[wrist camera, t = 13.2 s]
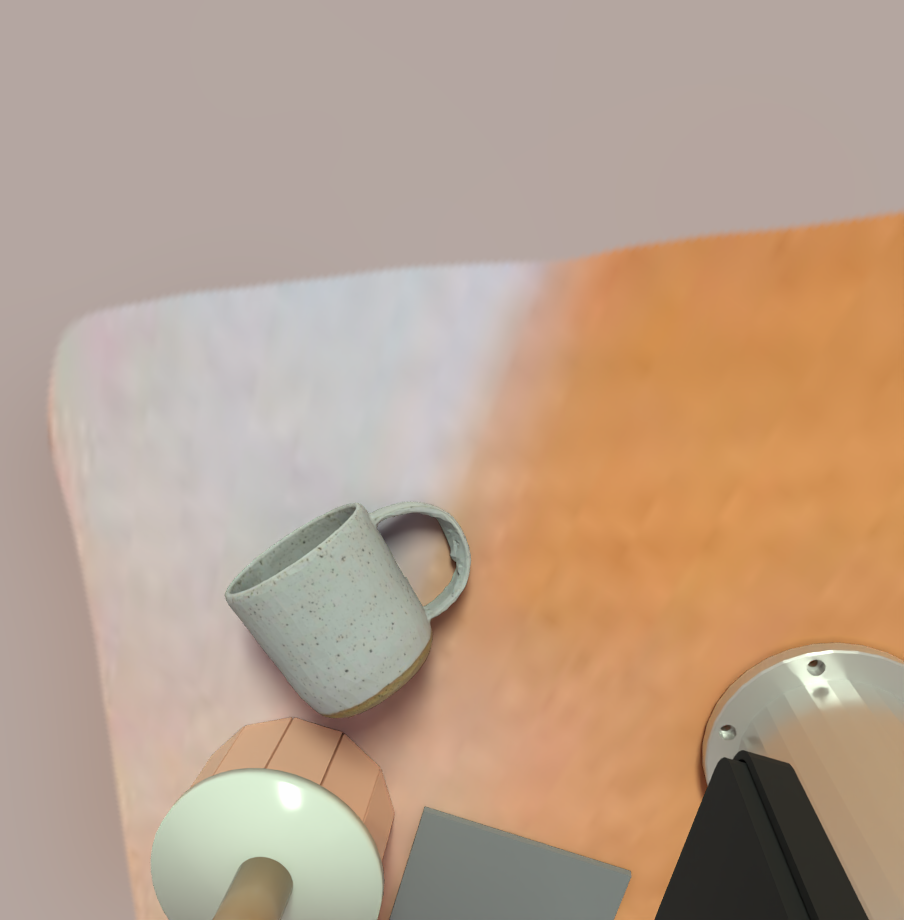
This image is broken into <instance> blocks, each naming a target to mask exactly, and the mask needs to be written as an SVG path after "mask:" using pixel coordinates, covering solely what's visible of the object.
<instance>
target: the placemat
mask: <svg viewBox="0 0 904 920" xmlns="http://www.w3.org/2000/svg"><path fill="white" fill-rule="evenodd" d="M630 878H631V871H629V870H626V869H622V868H619V867H616V866H613V865H610V864H607V863H603V862H600V861H597V860H594V859H591V858H587V857H584V856H581V855H578V854H575V853H571V852H568V851H565V850H562V849H559V848H555V847H552V846H549V845H546V844H543V843H540V842H536V841H533V840H530V839H527V838H524V837H520V836H517V835H514V834H511V833H508V832H504V831H501V830H498V829H495V828H492V827H488V826H485V825H482V824H479V823H476V822H473V821H469V820H466V819H463V818H460V817H457V816H453V815H450V814H447V813H444V812H441V811H437V810H434V809H431V808H428V807H424V810H423V814H422V817H421V820H420V823H419V826H418V830H417V833H416V836H415V839H414V842H413V846H412V849H411V852H410V855H409V858H408V862H407V865H406V868H405V871H404V874H403V878H402V881H401V884H400V887H399V890H398V894H397V897H396V900H395V903H394V906H393V910H392V913H391V916H390V919H389V920H614V918H615V915H616V913H617V910H618V908H619V906H620V903H621V901H622V898H623V896H624V893H625V891H626V888H627V886H628V883H629V881H630Z"/></svg>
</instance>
